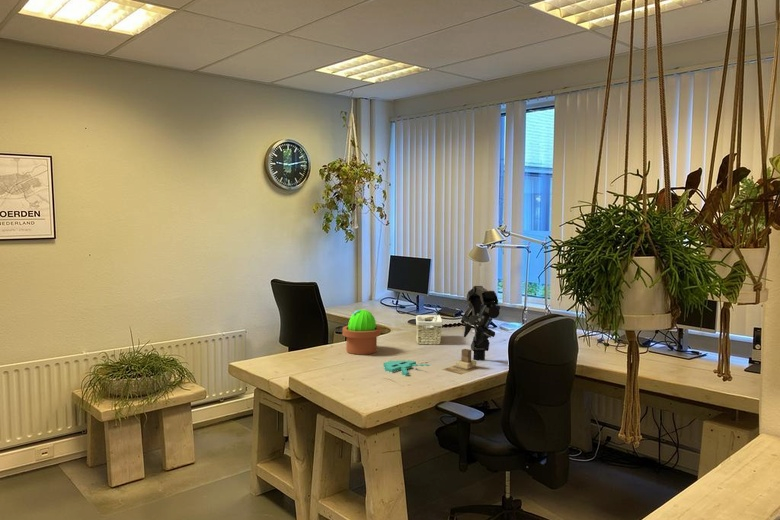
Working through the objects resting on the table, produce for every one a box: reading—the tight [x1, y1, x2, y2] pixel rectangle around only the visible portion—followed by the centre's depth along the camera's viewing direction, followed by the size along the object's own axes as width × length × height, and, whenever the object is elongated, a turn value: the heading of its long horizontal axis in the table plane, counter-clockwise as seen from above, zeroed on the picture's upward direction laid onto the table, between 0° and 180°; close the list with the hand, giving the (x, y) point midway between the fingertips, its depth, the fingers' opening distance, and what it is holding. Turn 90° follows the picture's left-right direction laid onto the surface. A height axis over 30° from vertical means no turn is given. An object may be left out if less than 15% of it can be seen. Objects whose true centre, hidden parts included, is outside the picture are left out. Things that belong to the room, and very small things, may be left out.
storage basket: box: [415, 314, 443, 346], centre depth 359 cm, size 24×16×15 cm
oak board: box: [441, 364, 482, 375], centre depth 291 cm, size 18×12×2 cm, turn 137°
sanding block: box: [455, 348, 477, 370], centre depth 293 cm, size 8×7×9 cm
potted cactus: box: [342, 309, 382, 356], centre depth 330 cm, size 22×22×25 cm
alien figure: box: [383, 359, 430, 377], centre depth 296 cm, size 20×2×20 cm
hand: (470, 340), depth 296 cm, fingers open, 9 cm apart
